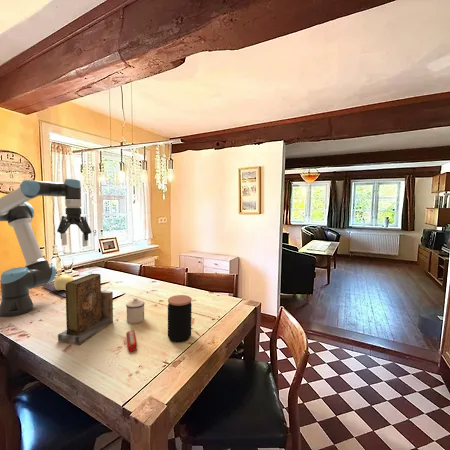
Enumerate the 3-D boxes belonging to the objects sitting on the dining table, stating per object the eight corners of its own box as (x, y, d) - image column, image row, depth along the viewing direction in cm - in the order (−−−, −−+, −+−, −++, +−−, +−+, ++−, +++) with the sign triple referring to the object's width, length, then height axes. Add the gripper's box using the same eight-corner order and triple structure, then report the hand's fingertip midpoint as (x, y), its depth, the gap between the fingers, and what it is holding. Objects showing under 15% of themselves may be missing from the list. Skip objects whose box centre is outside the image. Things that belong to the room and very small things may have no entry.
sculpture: (73, 285, 185) (72, 271, 184) (74, 290, 175) (74, 275, 174) (54, 288, 178) (53, 273, 178) (54, 293, 169) (54, 277, 168)
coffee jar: (180, 329, 124) (181, 293, 123) (196, 336, 118) (196, 298, 116) (162, 337, 116) (162, 299, 115) (178, 346, 109) (178, 305, 108)
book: (93, 321, 128) (92, 273, 126) (103, 323, 127) (102, 274, 125) (66, 338, 112) (65, 283, 110) (77, 340, 111) (75, 284, 109)
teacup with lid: (147, 320, 132) (147, 299, 131) (129, 325, 126) (129, 303, 125) (138, 313, 141) (138, 292, 140) (122, 317, 136) (121, 296, 135)
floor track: (58, 341, 111) (57, 306, 110) (94, 319, 132) (93, 289, 131) (79, 345, 109) (78, 309, 107) (113, 322, 130) (112, 291, 129)
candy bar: (126, 335, 118) (126, 329, 118) (134, 334, 119) (134, 327, 119) (127, 354, 103) (127, 347, 103) (137, 352, 105) (137, 345, 104)
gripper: (48, 206, 138) (50, 245, 140) (87, 207, 133) (88, 248, 135) (60, 206, 146) (61, 243, 147) (97, 207, 140) (98, 245, 142)
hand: (74, 245), depth 141 cm, fingers open, 13 cm apart
